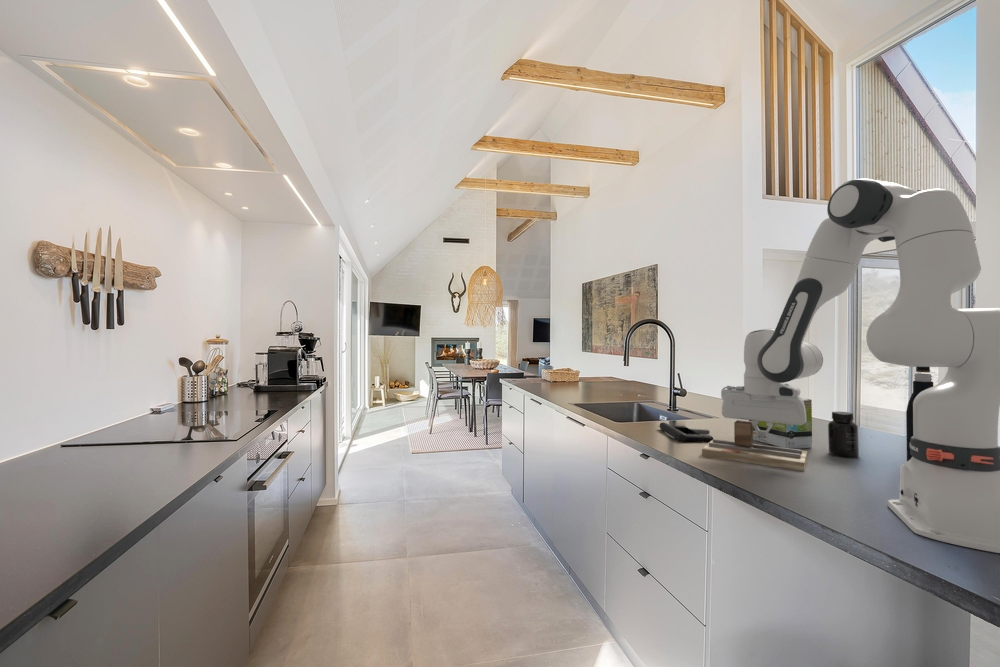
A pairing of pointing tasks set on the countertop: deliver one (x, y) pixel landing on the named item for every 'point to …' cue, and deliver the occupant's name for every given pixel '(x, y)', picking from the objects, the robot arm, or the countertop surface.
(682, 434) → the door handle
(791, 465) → the slider board
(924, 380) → the black water bottle
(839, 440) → the supplement bottle
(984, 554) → the countertop surface
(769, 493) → the countertop surface
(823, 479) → the countertop surface
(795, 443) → the tea box
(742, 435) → the fader knob
